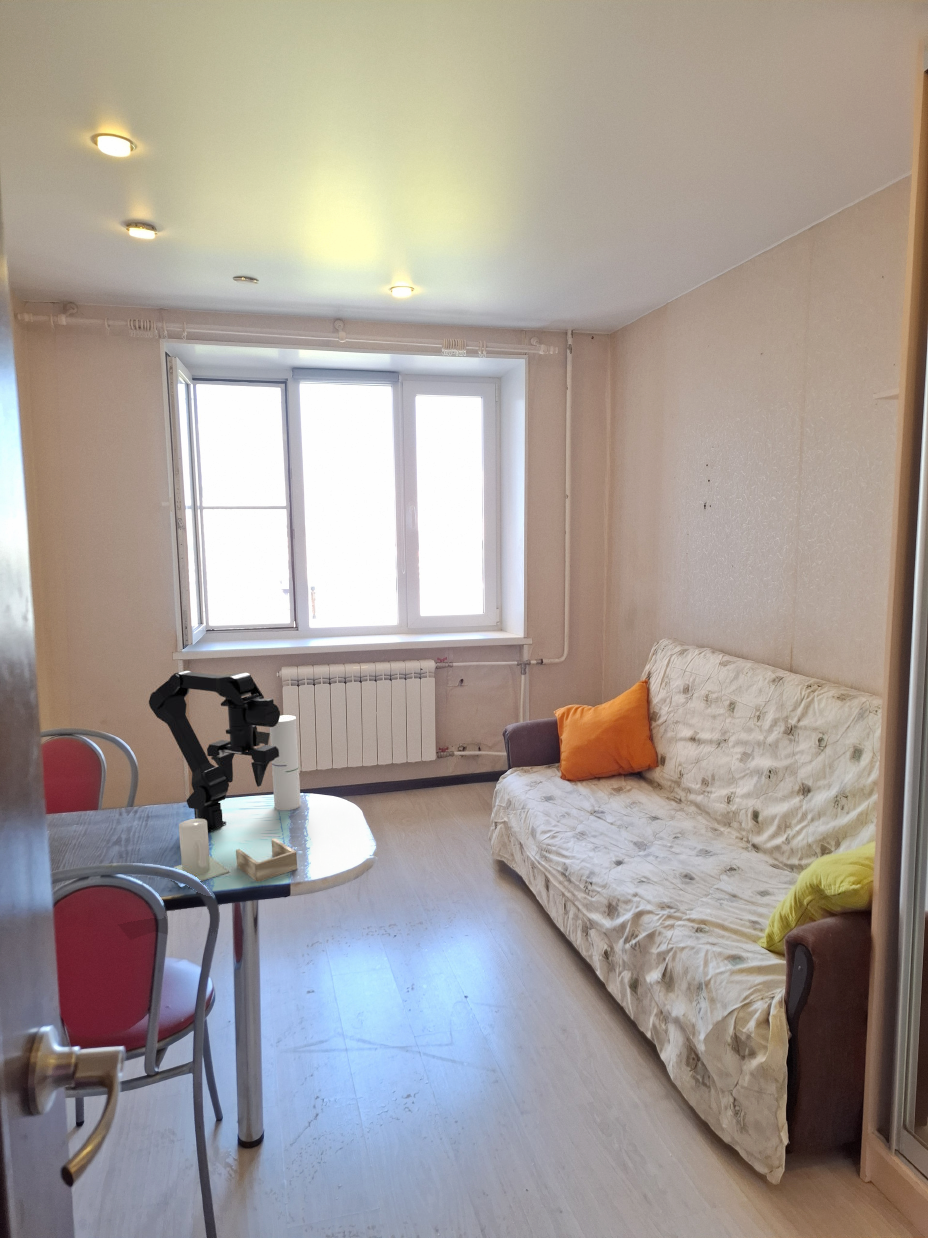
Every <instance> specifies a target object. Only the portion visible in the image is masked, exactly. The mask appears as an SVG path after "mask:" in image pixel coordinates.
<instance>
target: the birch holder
mask: <svg viewBox="0 0 928 1238" xmlns="http://www.w3.org/2000/svg"><path fill="white" fill-rule="evenodd" d="M271 853H272V854H271V855H272V856H273V857H271V858H268V859H265V860H261V861H257V860H256V859H254V858H253V857H251V856H250V855H249V854H247V853H245V852H244V851H243V850H241V849H240V848H237V849H235V856H236V867H237V868H238V869H240V870H241V871H242V872H243V873H245V874H246V875H247V876H249V877H250V878H251V879H253V880H254V881H255V882H257V883H259V882H262V881H267V880H268V879H271V878H274V877H277V876H279V875H283V874H286V873H289V872H292V871H295V870H297V869H298V860H297V859H298V857H297V851H296V850H294V849H293V848H291V847H289V846H288V845H286V844H284V843H283V842H282V841H279V840H278V839H277V838H271Z"/></svg>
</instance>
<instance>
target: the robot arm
mask: <svg viewBox="0 0 928 1238" xmlns="http://www.w3.org/2000/svg"><path fill="white" fill-rule="evenodd" d="M190 690H198V691H206V692H214V693H216V694H217V695H218V696H220V697H223V698H225V699H224V700H223V701H221V702H220V706H221V707H227V714H228V715H227V716H228V728H227V729H225V734H226V735H229V740H225V739H224V740H223V739H221V740H218V741H215V742H212V743H210V744H208V746H207V748H206V752H205V750H204V748H203V746H202V745H201V742H200V741H199V738H198V737H197V734H196V732H195V730H194V729H193V727H192V725H191V722H190V721H189V719H188V717H187V705H188V704H187V701H186V699H185V698H186V697H187V696H188V695H189V693H190ZM148 705H149V708H150V709H151V711H152V712H153V714H154V716H155V717H157V719H159V720H160V721H162V722H163V723H165V724H166V725H167V726H168V729H169V730H170V732H171V734H172V737H173V738H174V740H175V742H176V743H177V745H178V748H179V750H180V751H181V753H182V756H183V757H184V759H185V761H186V764H187V765H188V768H189V769H190V771H191V788H192V790H193V792H192V793H191V794H190V795H189V796H188V797H187V799H186V801H185V802H186V805H187V808H189V809H193V810H194V811H193V812H194V813H193V814H194V819H205V820H206V821H207V829H208V833H210V832H212V831H215V830H216V829H218V828H220V827H223V826H224V825H226V824H227V821H225V820H223V810H222V805H221V802H222V801H225V799H226V797H227V793H228V791H229V787H230V783H232V782H233V780H234V779H233V778H234V772H233V771H234V769H233V759H234V756H235V755H240V756H241V755H242V756H249V757H251V760H252V762H251V769H252V773H253V776H254V780H255V784H256V787H258V788H259V787H261V786H262V784H263V780H264V777H265V774H266V771H267V768H268V766H269V764H270V763H272V761H273V760H274V759H275V758H277V757H279V749H278V748H277V747H276V746H271V744H270V745H269V743H270V741H269V740H270V732H266V731H259V730H258V727H266V728H270V727H274V726H276V724H277V723H278V721H279V719H280V716H281V711H280V709H279V707H278V705H276V703H274V699H273V698H267V699H265V696H264V694H263V693H262V691H261V690H260V689H259V686H258V685H257V684H256V682H255V680H254V679H253V677H252V675H251V674H250V673H248V672H238V673H237V672H236V673H231V674H226V675H222V674H213V673H206V672H205V673H203V672H196V671H195V672H193V671H191V670H183V671H179V672H175V673H173V674H172V675H171V676H170V678H168V680H166V681H165V682H164V683H163V684H162V685H160V686H159V687H158V688H157V689H156V690H155V691H153V692H151V694H150V696H149V700H148ZM261 744H262V746H260V745H261ZM259 746H260V747H259ZM255 747H257V748H255ZM209 757H211V759H210V760H212V761H214V762H215V764H216V766H215V765H214V764H212V763H211V761H210V760H209Z"/></svg>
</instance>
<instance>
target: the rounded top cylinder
mask: <svg viewBox="0 0 928 1238" xmlns="http://www.w3.org/2000/svg"><path fill="white" fill-rule="evenodd" d="M178 831H179V847H180V859H181V865H182V870H183V871H186V872H187V873H190V874H192V875H194V876H198V875H202V874H204V873H206V872H208V871H209V870H210V857H209V856H210V845H209V832H208V829H207V821H206V820H205V819H195V818H192V819H188V820H184V821H182V822H180V823H179V824H178Z"/></svg>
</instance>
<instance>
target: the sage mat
mask: <svg viewBox="0 0 928 1238" xmlns="http://www.w3.org/2000/svg"><path fill="white" fill-rule="evenodd" d="M209 857H210V870H209V871H208V872H206V873H204V874H202V875H198V876H195V877H197V878H198V879H199V880H201V881H200V882H203V881H206V880H210V879H212V878H215V877H218V876H221V875H225V874H229V873H230V871H231V870H229V869H228V868H227V867H225V866H224V865H223V864H222V863H220V862H219V861H218V860H216V859H215V858H214V857H212V856H211V855H209ZM173 867H174V868H177V869H180V870H182V864H179V865H176V866H173Z"/></svg>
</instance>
